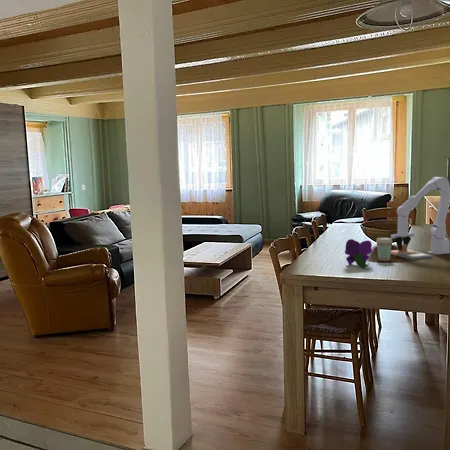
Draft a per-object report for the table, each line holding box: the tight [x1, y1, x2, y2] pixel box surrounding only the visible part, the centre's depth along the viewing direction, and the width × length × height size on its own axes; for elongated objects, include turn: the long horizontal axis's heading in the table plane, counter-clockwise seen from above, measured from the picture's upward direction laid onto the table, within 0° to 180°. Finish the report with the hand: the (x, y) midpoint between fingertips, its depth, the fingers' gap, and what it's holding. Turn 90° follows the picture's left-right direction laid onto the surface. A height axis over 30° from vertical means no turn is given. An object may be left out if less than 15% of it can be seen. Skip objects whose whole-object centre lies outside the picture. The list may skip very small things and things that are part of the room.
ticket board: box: [398, 251, 433, 261], centre depth 261 cm, size 13×12×2 cm
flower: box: [344, 238, 373, 269], centre depth 240 cm, size 15×15×14 cm
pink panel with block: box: [390, 243, 418, 257], centre depth 271 cm, size 13×8×6 cm, turn 105°
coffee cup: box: [375, 236, 393, 262], centre depth 255 cm, size 8×8×12 cm
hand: (402, 249), depth 271 cm, fingers closed on pink panel with block, 3 cm apart
